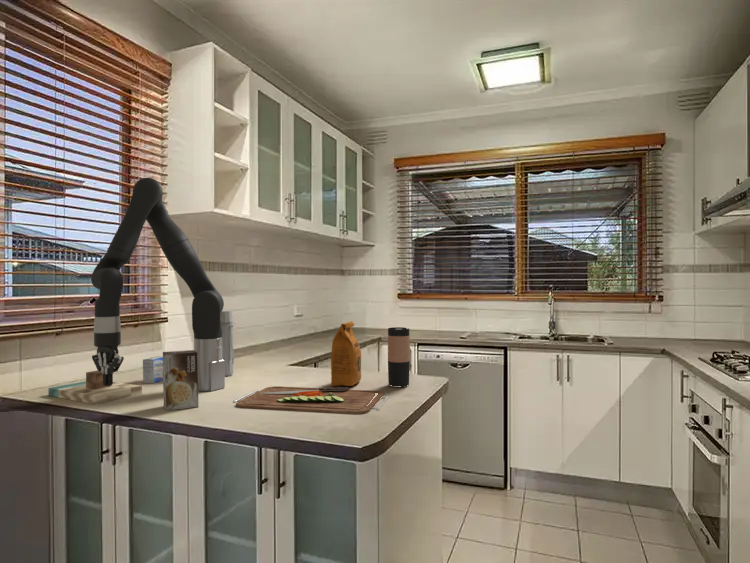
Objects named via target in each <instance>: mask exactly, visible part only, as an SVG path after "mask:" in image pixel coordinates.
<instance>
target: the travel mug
mask: <svg viewBox="0 0 750 563" xmlns="http://www.w3.org/2000/svg"><path fill="white" fill-rule="evenodd" d="M410 349H411V348H410V328H407V327H401V326H399V327H397V326H396V327H388V329H387V376H388V377H387V378H388V386H389V385H392V386H407V385H409V386H410V360H411V356H410V355H411V353H410V352H411V350H410Z"/></svg>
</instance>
